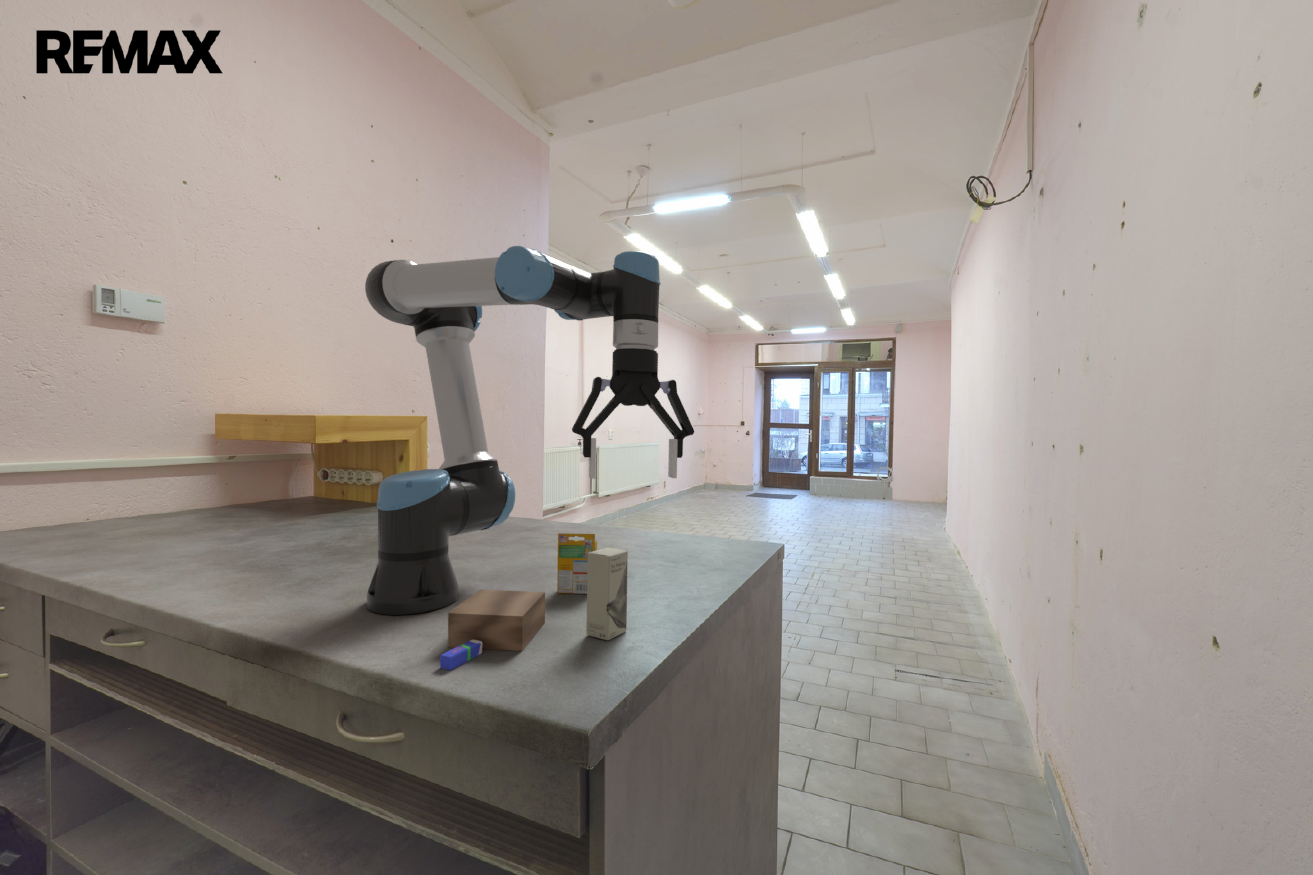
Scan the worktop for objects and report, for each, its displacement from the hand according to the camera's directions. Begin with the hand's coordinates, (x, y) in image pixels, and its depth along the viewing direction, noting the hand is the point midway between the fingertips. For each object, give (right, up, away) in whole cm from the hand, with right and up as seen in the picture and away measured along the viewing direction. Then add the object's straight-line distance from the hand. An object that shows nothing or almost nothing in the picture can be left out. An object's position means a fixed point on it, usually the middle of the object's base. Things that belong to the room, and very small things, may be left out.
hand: (633, 477), depth 89 cm
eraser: (-23, -24, -16) cm, 37 cm away
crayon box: (-11, -23, +15) cm, 30 cm away
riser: (-20, -24, -7) cm, 32 cm away
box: (-4, -24, -6) cm, 25 cm away
